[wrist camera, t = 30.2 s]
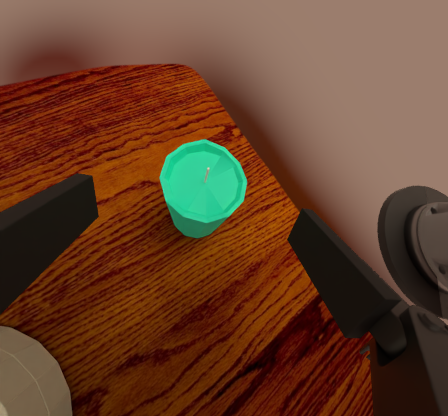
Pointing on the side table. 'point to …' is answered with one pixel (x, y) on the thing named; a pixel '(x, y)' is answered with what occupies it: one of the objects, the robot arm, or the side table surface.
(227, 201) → the candle
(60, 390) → the bowl
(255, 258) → the side table surface
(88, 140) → the side table surface
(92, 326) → the side table surface
